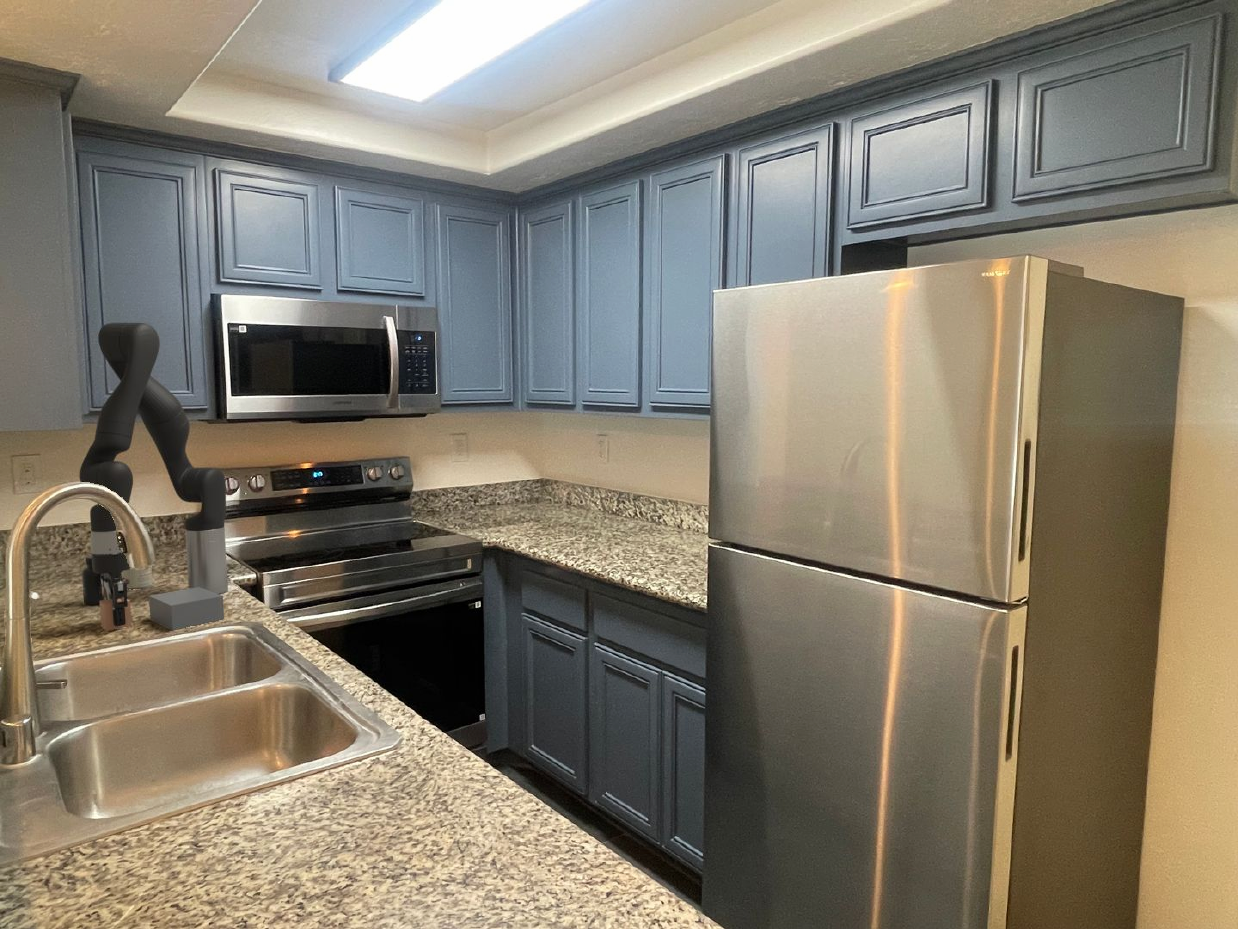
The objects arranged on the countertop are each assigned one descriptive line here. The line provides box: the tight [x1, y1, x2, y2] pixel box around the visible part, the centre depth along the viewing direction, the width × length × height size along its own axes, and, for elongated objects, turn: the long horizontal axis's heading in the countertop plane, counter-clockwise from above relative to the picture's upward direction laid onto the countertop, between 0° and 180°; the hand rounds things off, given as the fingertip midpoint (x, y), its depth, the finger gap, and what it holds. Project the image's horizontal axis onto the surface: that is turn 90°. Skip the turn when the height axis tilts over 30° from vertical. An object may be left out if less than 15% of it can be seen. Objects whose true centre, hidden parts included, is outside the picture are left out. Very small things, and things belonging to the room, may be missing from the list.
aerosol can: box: [122, 524, 153, 590], centre depth 217 cm, size 7×7×20 cm
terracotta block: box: [99, 598, 133, 632], centre depth 181 cm, size 5×5×6 cm
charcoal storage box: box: [148, 587, 225, 632], centre depth 185 cm, size 14×11×6 cm
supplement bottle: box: [81, 555, 107, 607], centre depth 202 cm, size 7×7×12 cm
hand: (116, 622), depth 181 cm, fingers open, 6 cm apart
